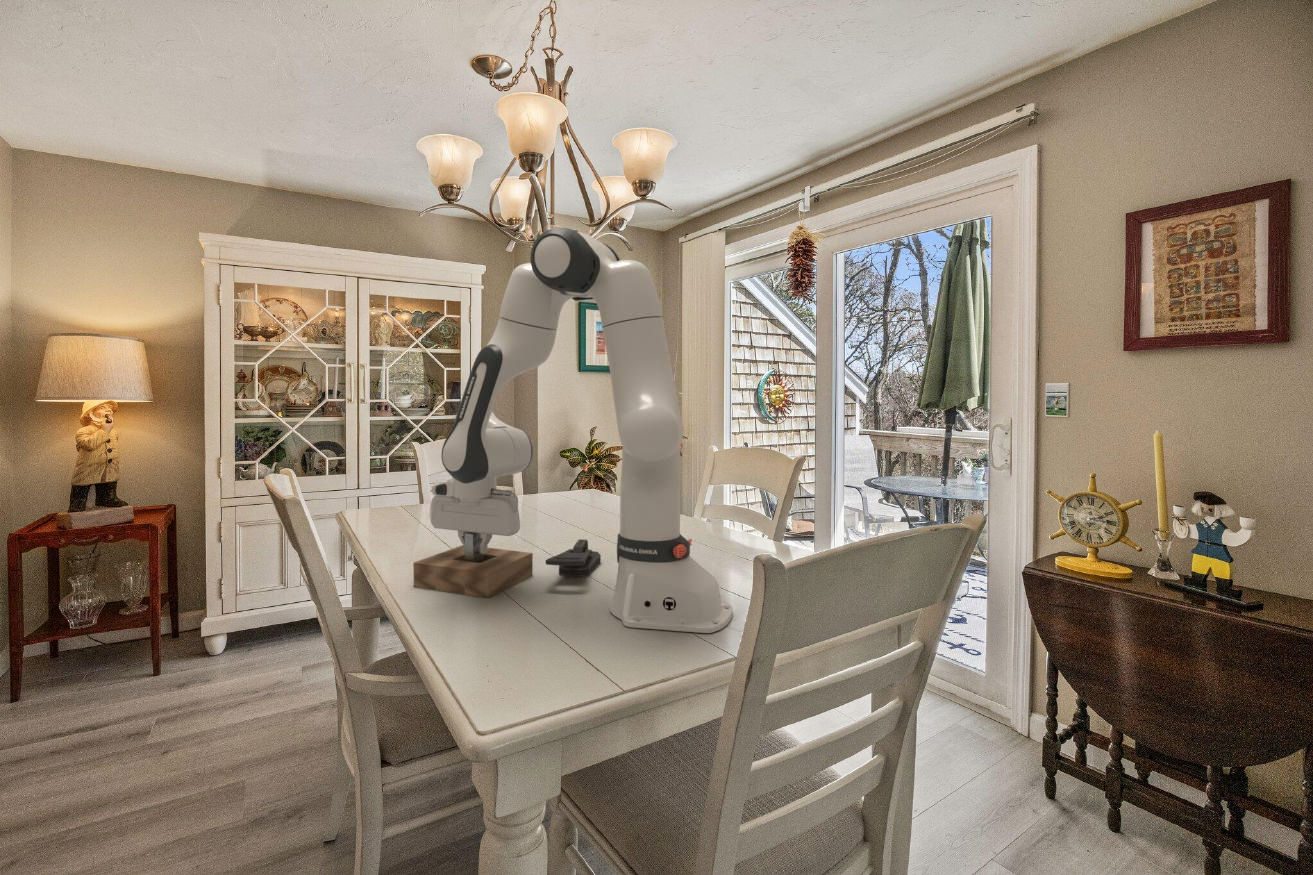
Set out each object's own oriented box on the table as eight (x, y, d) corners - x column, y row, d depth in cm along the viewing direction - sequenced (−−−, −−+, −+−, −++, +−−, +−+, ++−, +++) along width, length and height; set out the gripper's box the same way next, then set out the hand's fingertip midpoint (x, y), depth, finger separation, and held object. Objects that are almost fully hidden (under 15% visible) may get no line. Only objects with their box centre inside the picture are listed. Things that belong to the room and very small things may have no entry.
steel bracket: (490, 570, 129) (490, 531, 129) (479, 575, 126) (478, 535, 125) (471, 568, 131) (470, 529, 131) (459, 573, 127) (458, 532, 127)
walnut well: (532, 575, 133) (532, 553, 133) (488, 598, 118) (488, 572, 118) (464, 566, 139) (463, 544, 139) (413, 586, 124) (413, 562, 124)
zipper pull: (541, 560, 122) (565, 531, 147) (541, 592, 122) (565, 559, 147) (586, 561, 121) (602, 532, 146) (585, 593, 122) (602, 560, 147)
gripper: (526, 488, 127) (526, 554, 128) (445, 482, 134) (445, 544, 135) (508, 493, 121) (508, 561, 122) (425, 486, 128) (426, 551, 129)
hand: (475, 552), depth 128 cm, fingers closed on steel bracket, 2 cm apart
